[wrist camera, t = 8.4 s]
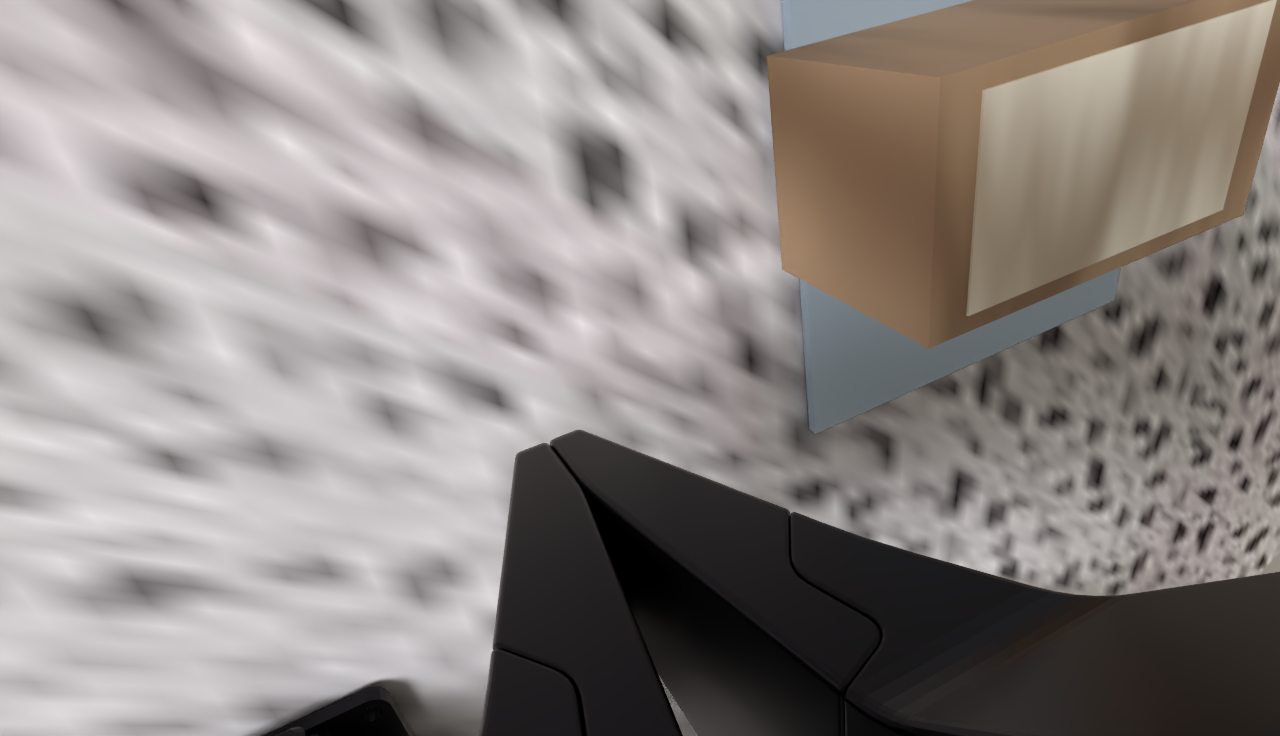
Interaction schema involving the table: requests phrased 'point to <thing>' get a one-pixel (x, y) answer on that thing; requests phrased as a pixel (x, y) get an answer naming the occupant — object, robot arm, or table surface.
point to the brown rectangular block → (1014, 149)
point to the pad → (863, 347)
